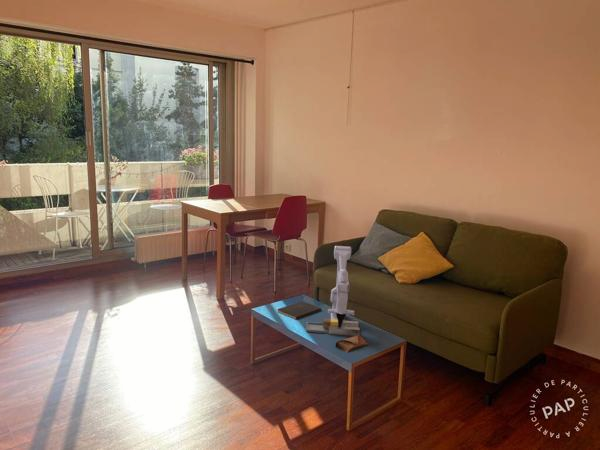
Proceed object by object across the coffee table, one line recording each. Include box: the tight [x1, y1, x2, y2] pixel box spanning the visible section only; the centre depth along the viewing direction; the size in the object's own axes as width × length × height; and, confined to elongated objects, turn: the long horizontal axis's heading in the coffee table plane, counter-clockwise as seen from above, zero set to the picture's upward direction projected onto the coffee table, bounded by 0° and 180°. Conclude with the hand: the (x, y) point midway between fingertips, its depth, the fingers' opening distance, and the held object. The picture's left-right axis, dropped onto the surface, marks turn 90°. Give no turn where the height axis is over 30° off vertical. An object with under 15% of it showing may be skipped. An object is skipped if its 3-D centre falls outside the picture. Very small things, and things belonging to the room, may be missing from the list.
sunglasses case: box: [335, 333, 370, 353], centre depth 247 cm, size 18×7×7 cm, turn 131°
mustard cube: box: [330, 318, 338, 326], centre depth 264 cm, size 4×4×4 cm
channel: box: [327, 320, 361, 337], centre depth 265 cm, size 12×17×4 cm
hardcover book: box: [276, 300, 322, 321], centre depth 290 cm, size 16×23×2 cm
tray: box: [305, 321, 329, 334], centre depth 265 cm, size 11×12×1 cm
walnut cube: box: [322, 318, 331, 328], centre depth 265 cm, size 4×4×4 cm
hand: (339, 325), depth 265 cm, fingers closed
